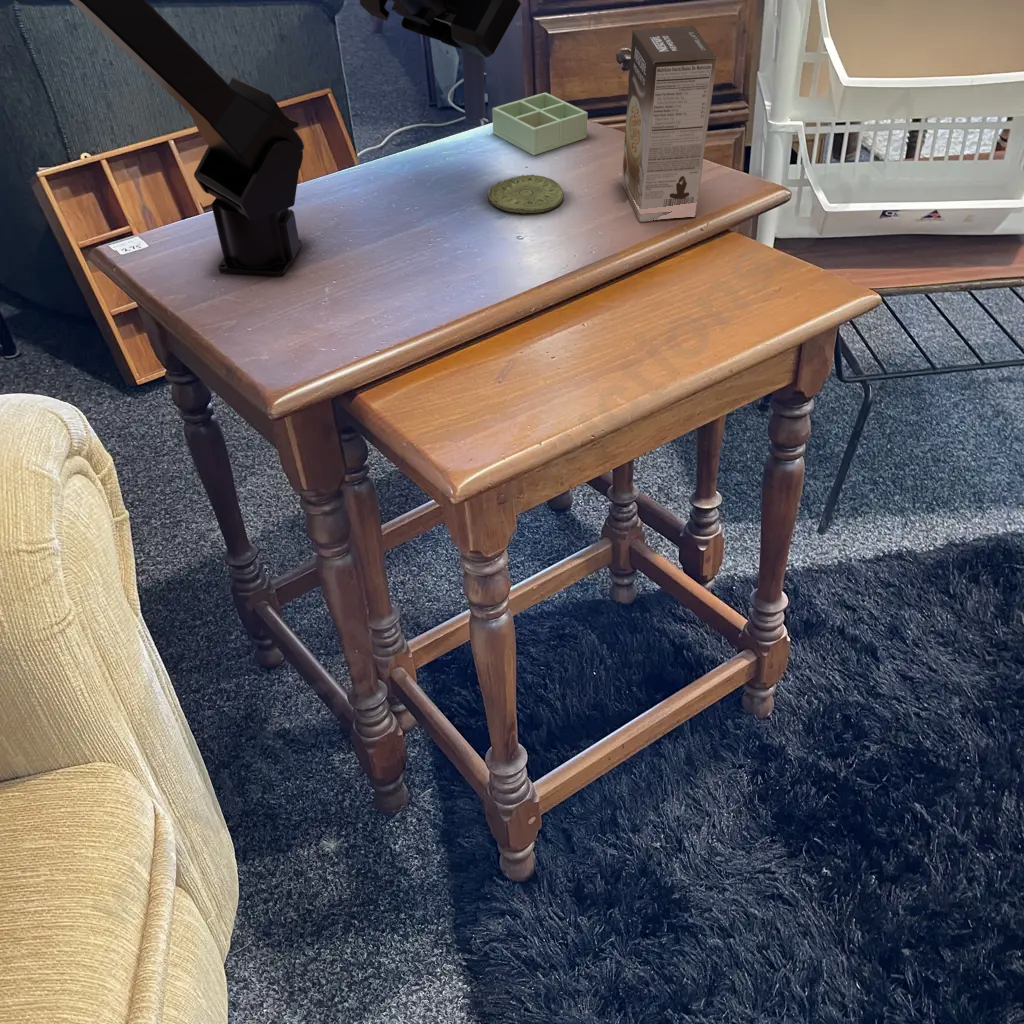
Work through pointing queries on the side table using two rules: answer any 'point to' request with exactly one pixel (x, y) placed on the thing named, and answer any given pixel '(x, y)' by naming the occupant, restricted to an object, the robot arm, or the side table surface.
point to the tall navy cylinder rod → (473, 85)
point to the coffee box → (666, 117)
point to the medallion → (526, 194)
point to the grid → (539, 123)
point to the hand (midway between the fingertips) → (482, 49)
